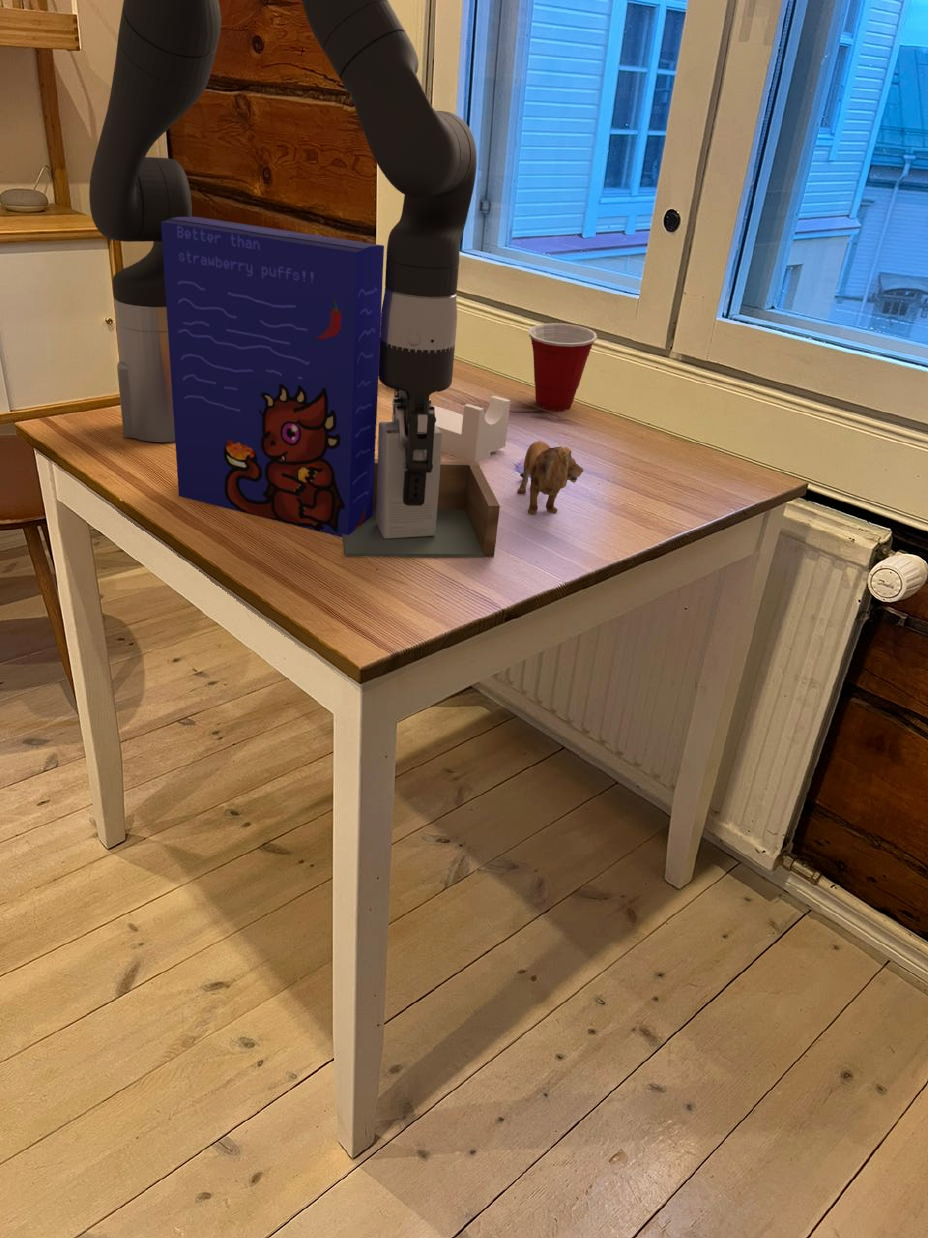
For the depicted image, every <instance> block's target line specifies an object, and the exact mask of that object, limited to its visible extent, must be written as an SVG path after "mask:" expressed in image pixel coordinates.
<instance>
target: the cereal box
mask: <svg viewBox="0 0 928 1238" xmlns="http://www.w3.org/2000/svg"><path fill="white" fill-rule="evenodd" d="M161 231H162V246H163V262H164V277H165V292H166V308H167V323H168V338H169V354H170V369H171V384H172V400H173V415H174V430H175V441H174V443H175V457H176V473H177V489H178V497H181V498H184V499H188V500H191V501H196V502H199V503H200V502H201V503H205V504H208V505H213V506H217V507H219V508H224V509H228V510H233V511H236V512H240V513H244V514H247V515H251V516H255V517H260V518H264V519H268V520H272V521H275V522H279V523H284V524H287V525H292V526H295V527H300V528H304V529H308V530H310V531H311V530H312V531H316V532H320V533H324V534H328V535H332V536H335V537H339V538H342V534H346V535H349V534H350V533H352V532H353V531H354V530H355V529H357V528H358V527H359V526H361V525H362V524H363V523H364V522H366V521H367V520H368V519H369V518H371V517H372V513H373V490H374V467H375V459H376V442H377V441H376V439H377V437H376V435H377V419H378V417H377V415H378V414H377V413H378V392H379V391H378V390H379V376H378V374H379V351H380V330H381V311H382V304H383V283H384V282H383V281H384V279H383V278H384V256H385V254H384V253H385V245H384V244H376V243H369V242H365V241H363V242H362V241H356V240H350V239H349V240H348V239H343V238H339V237H338V238H337V237H331V236H330V237H329V236H325V235H317V234H309V233H303V232H298V231H291V230H283V229H278V228H271V227H265V226H259V225H252V224H246V223H239V222H232V221H231V222H230V221H225V220H220V219H219V220H218V219H213V218H205V217H200V216H199V217H198V216H192V217H175V218H171V219H169V220H166V221H162V222H161Z"/></svg>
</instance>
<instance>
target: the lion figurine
mask: <svg viewBox="0 0 928 1238" xmlns="http://www.w3.org/2000/svg"><path fill="white" fill-rule="evenodd" d="M572 452H573V451H572V450H571V449H570V448H569V447H564V446H561V445H560V446H555V447H551V446H550V445H549V444H548V443H547V442H544V441H542V440H538V441H534V442H532V443H531V444H530V445H529V447H528V448H527V451H526V453H525V457H524V461H523V472H522V473H520V474H519V475H520V477H521V482H520V485H519V488H518V489H516V493H517V494H519V495H526V494H527V485H528V481H529V477H530V484H529V485H530V486H529V506H528V508H527V510H526V512H527V514H528V515H531V516H533V515H537V514H538V511H539V507H538V496H539V494H540V493H542V494H543V495H547V496H548V497H547V501H546V503H545V509H546V511H547V513H549V514H556V513H557V512H558V511H559V510H558V508H556V507H555V505H554V504H555V500H556V498H557V495H558V494H559V493H560V491H561V489H565V488H566V486H567V483H568V481H570V482H572V484H573V483H574V484H575V483H576V482H577V480H578V478H579V477H580V476H581V475H582V473H583V472H584V468H583V467H581V466H580V465H579V464H578V463H577V462H576V459H574V458H573V457H572Z"/></svg>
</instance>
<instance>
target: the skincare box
mask: <svg viewBox="0 0 928 1238" xmlns="http://www.w3.org/2000/svg"><path fill="white" fill-rule="evenodd" d="M377 432H378V436H377V437H378V438H377V459H378V471H377V504H376V523H377V526H378V528H379V530H380V532H381V534H382V535H383V537H384V538H385V539H389V538H405V537H420V536H434V535H436V520H437V506H438V492H439V478H440V463H441V461H442V458H441V457H442V452H441V444H442V432H441V431H440V430H439V429H438V428H437V427H436V425H435V429H434V444H433V460H432V464H433V469H432V472H431V473H426V486H425V500H424V504H423V505H421V506H408V505H405V504H404V502H403V484H404V468H403V463H404V453H403V451H402V450H400V449H399V444H398V424H397V423H396V422H392V421H384V422H383V421H380V422H379V423H378V431H377ZM405 438H406V439H408V437H407V436H406V435H405ZM413 460H423V455H422V452H421V451H414V452H413Z"/></svg>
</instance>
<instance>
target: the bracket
mask: <svg viewBox="0 0 928 1238" xmlns="http://www.w3.org/2000/svg"><path fill="white" fill-rule="evenodd" d="M433 406H434V408H435V417H436V422H435V425H436V427H437V428H438V429H439V430H440V431H441V432H442V444H441V453H445V454H447V455H450V456H452V457H453V456H454V457H455V458H459V459H462V460H463V461H477V462H478V463H479V462H482V461H484V460H486V459H489V458H490V457H491V453H492V452H495V451H498V450H501V449H503V448H505V447H506V441H507V434H508V425H509V416H510V409H511V399H508V398H505V397H501V396H497V395H493V396H490V400H489V405H488V407H487V409H486V411H485V408H484V407H480V406H477V405H473V404H470V403H466V404H464V405H463V413H459V412H455V411H453V410H449V409H446V408H443V407H439V406H436V405H433Z"/></svg>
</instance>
